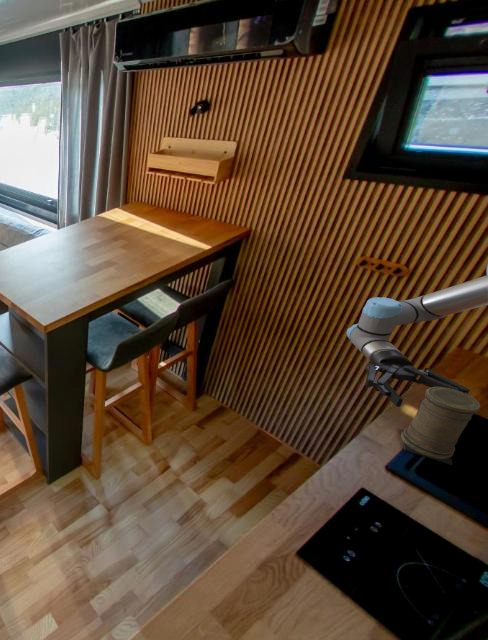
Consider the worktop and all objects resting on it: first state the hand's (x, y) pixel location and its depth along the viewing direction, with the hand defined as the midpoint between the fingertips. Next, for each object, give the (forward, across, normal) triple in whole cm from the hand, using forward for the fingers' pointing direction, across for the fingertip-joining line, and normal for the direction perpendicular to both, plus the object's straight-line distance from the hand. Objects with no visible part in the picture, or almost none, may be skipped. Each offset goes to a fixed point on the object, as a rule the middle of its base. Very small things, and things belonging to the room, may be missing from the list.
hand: (435, 407), depth 97 cm
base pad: (+3, 0, -13) cm, 13 cm away
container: (+3, 0, -12) cm, 12 cm away
